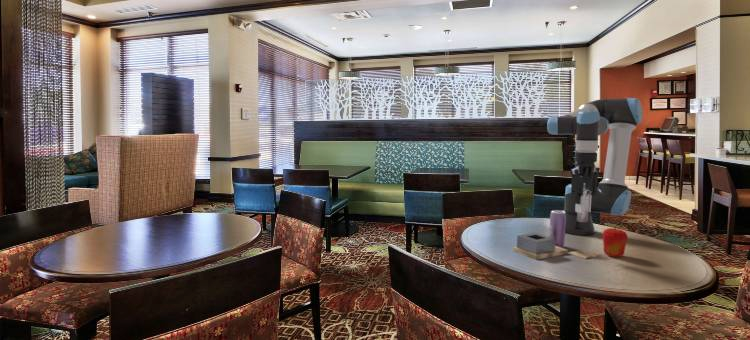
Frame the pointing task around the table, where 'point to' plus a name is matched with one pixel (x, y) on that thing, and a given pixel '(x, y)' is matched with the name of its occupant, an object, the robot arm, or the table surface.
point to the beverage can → (558, 227)
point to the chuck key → (584, 206)
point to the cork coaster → (583, 254)
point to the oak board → (539, 256)
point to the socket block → (536, 243)
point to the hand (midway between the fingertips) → (582, 211)
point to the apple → (614, 242)
